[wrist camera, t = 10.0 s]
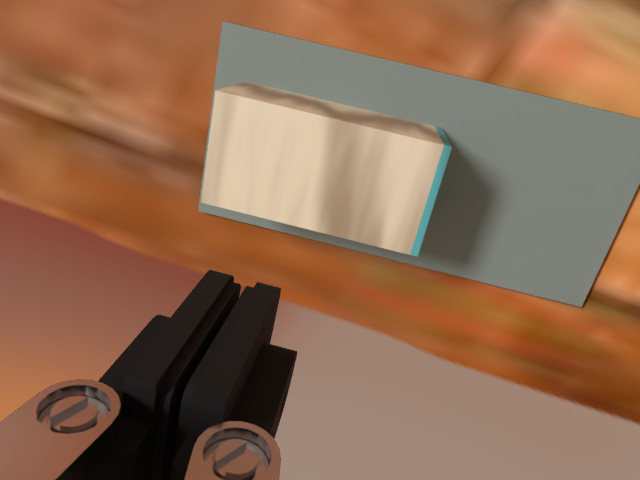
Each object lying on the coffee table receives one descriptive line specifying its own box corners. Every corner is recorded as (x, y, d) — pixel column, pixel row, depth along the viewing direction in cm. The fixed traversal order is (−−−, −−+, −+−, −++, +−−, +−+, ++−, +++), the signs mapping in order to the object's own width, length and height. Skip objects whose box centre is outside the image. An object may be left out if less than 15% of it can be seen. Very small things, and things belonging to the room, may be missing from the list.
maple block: (452, 147, 25) (215, 90, 26) (417, 256, 27) (200, 202, 28) (441, 127, 31) (247, 81, 31) (413, 220, 33) (232, 175, 33)
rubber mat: (663, 123, 29) (667, 125, 29) (578, 303, 34) (581, 307, 33) (225, 21, 31) (222, 21, 30) (200, 208, 35) (198, 211, 35)
